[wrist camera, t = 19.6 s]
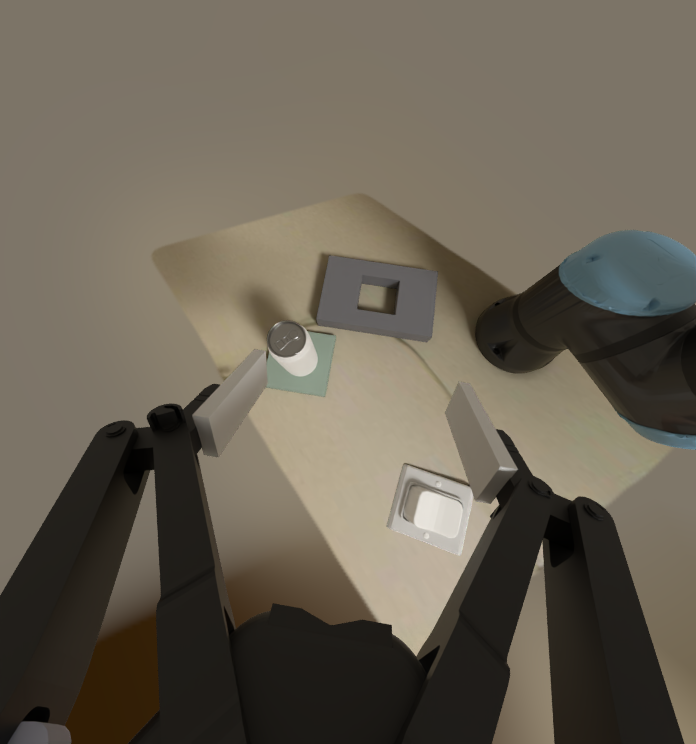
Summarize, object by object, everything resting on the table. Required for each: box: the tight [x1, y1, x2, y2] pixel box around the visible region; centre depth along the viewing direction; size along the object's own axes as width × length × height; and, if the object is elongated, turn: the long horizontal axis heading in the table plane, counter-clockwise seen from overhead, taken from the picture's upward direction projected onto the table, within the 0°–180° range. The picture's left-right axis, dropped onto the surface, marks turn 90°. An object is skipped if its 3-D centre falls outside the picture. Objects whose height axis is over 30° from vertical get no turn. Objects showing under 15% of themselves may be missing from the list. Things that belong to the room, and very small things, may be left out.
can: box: [267, 320, 318, 377], centre depth 41 cm, size 6×6×12 cm
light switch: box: [387, 464, 473, 555], centre depth 41 cm, size 11×4×13 cm
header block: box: [316, 255, 438, 342], centre depth 49 cm, size 22×14×3 cm, turn 81°
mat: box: [266, 331, 336, 397], centre depth 47 cm, size 12×12×1 cm
